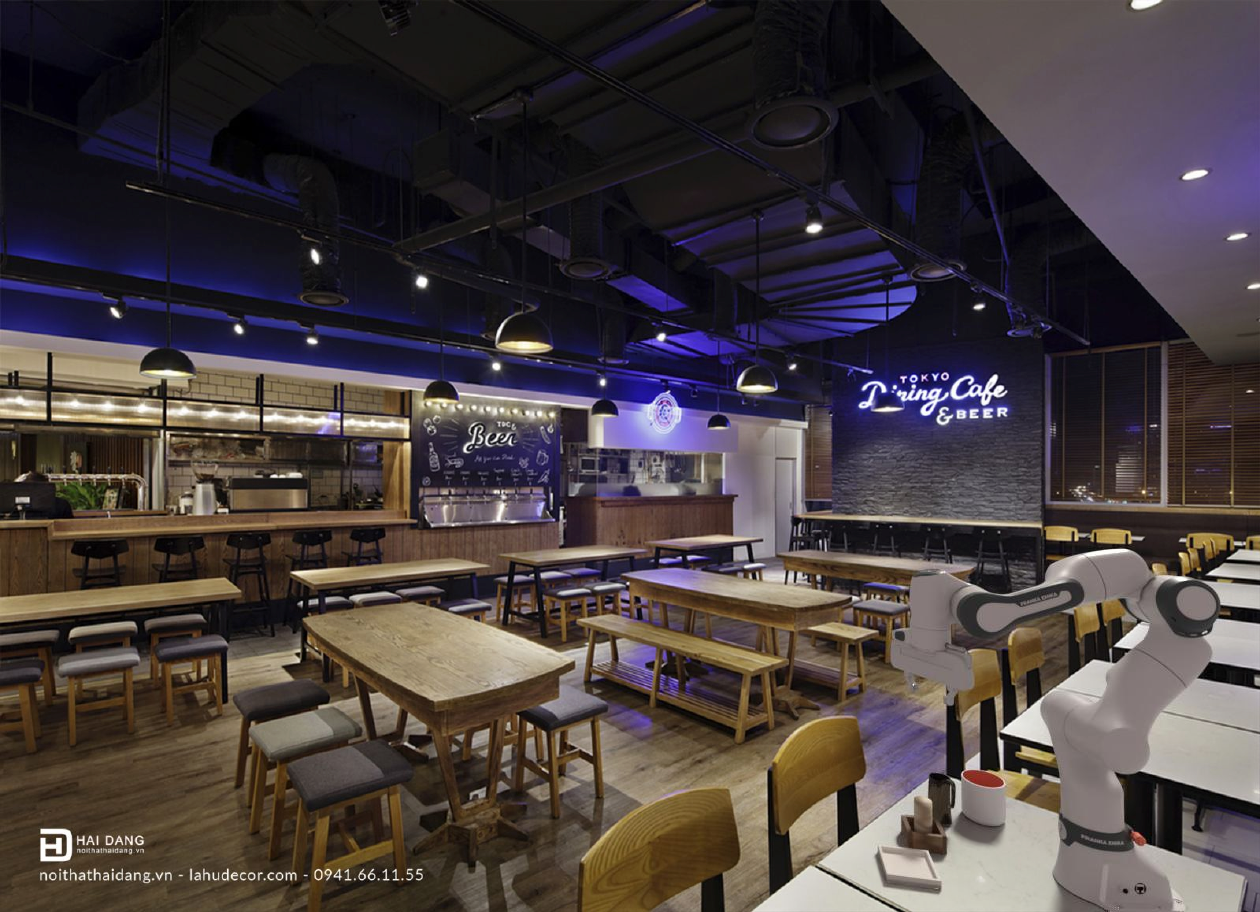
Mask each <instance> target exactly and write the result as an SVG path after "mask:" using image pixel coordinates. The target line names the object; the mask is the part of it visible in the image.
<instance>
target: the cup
mask: <svg viewBox="0 0 1260 912" xmlns="http://www.w3.org/2000/svg"><path fill="white" fill-rule="evenodd" d="M960 773H961V774H960V777H961V778H960V779H961V781H960V783H961V784H960V785H961V789H960V790H961V793H960V794H961V803H960V805H961V810H962V813H963V814H964V815H965V816H966V817H967V818H968V819H969V820H971V821H972V822H974V823H977V824H980V825H981V826H982V825H983V826H988V827H998V826H1002V825H1003V824H1004V823H1005V822H1006V819H1007V809H1006V807H1007V804H1006V800H1007V797H1006V791H1007V790H1006V781H1005V780H1004V779H1003V778H1002V777H1000V776H998V775H997V774H995V773H993V772H989V771H986V770H981V769H965V770H963V771H962V772H960Z"/></svg>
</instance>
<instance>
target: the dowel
mask: <svg viewBox="0 0 1260 912" xmlns="http://www.w3.org/2000/svg"><path fill="white" fill-rule="evenodd" d="M913 815H914V832H921V833H930V834H932V801H931V800H930V799H929V798H928V797H926V796H922V795H916V796H914V797H913Z"/></svg>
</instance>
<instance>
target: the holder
mask: <svg viewBox="0 0 1260 912" xmlns="http://www.w3.org/2000/svg"><path fill="white" fill-rule="evenodd" d="M900 828H901V829H900V832H901V834H902V837H903V840H904V842H905V845H906V848H911V849H920V850H928V851H929V854H934V855H935V854H936V855H941V856H942V855H946V854H948V841H947V840H948V835H946V833H945V831H944V829H943V828H944V827H942V826H941V824H940V822H939V820H938V819H934V818H933V817H932V834H930V833H921V832H914V814H913V815H912V814H904V815H903V814H900Z"/></svg>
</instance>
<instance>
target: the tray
mask: <svg viewBox="0 0 1260 912" xmlns="http://www.w3.org/2000/svg"><path fill="white" fill-rule="evenodd" d="M877 854H878V858H879V861H880V863H881V867H882V870H883V874H884V877H885V881H886V883H887V882H888V883H889V882H890V883H889V884H894V885H896V884H897V885H903V886H911V887H919V888H925V889H926V888H927V889H933V888H938V889H937V890H940V889H942V878H941V877H940V874H939V872H938V870H937V867H936V865H935V863H934V861H933V858H932V856H931V855H930V854H931V853H929V851H928V850H920V849H911V848H907V847H901V846H893V845H886V844H885V845H883V844H877Z"/></svg>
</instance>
